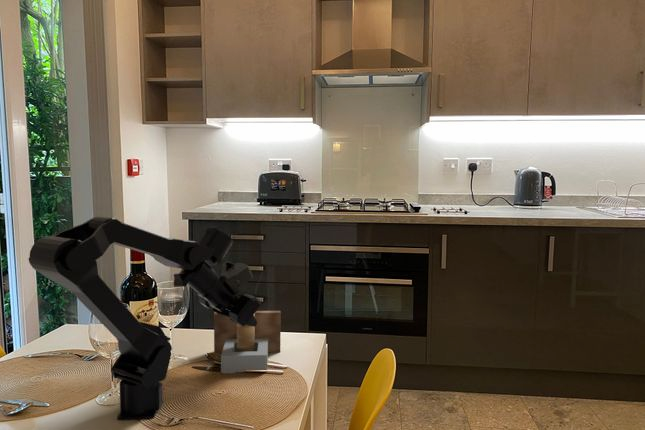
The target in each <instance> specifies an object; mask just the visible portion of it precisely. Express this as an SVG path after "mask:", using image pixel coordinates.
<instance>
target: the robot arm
mask: <svg viewBox="0 0 645 430" xmlns="http://www.w3.org/2000/svg"><path fill="white" fill-rule="evenodd" d="M233 243H234V242H233V239H232V238H231V236H229V235H227V234H226V232H223V231H221V230H219V229H218V228H217V227H215V226H208V227H207V229H206V231H205V233H204V234H203V236H202V237H201V239H200V240H199V242H197V241H194V240H188V239H187V240H186V239H179V238H178V239H177V238H171V237H170V238H169V237H165V236H162V235H158V234H157V233H153V232H151V231H148V230H145V229H142V228H139V227H137V226H133V225H131V224H128V223H125V222H122V221H120V220H119V219H117V218H116V217H107V216H94V217H92V218H90V219H88V220H86V221H85V222H83V223H81V224H77V225H75V226H73V227H69V228H67V229H64V230H61V231H58V232H57V233H56V234H54V235H47V236H44V237H40V238H39V239H37V241H35V243H34V244H33V245H32V246H31V249H30V251H29V257H28V261H29V262H28V263H29V265H30V266H31V268H32V269H33V270H35V271H36V272H38V273H39V274H41V275H42V276H43V277H45V278H46V279H48V280H50V281H51V282H54V283H56V284H58V285H60V286H61V287H64V288H65V289H67V290H68V291H70V292H71V293H72V294H73V295H74V296H75V298H77V300H79V301H80V302H81V303H82V304H83V306H84V307H85V308H86V309H87V310H88V311H89V312H90V313H91V314H92V315H93V316H94V317H96V319H97V320H98V321H99V322H100V324H102V326H104V327H105V328H106V329H107V330H108V331H109V333H111V334H112V336H114V338H116V340H117V345H118V346H117V347H118V351H119V352H120V353H119V356H118V357H117V358H116V360H115V362H114V363H113V365H112V367H111V368H110V371H111V374H112V377H113V378H114V379H118V380H120V381H119V405H120V407H119V409H120V411H119V413H118V414H117V416H116V419H117V420H149V419H154V418H155V417H156V414H157V413H158V411H159V410H160V409H161V407H162V404H163V402H164V401H163V397H164V396H163V383H162V382H161V381H164V380H165V379H166V378H167V374H168V371H169V365H170V361H171V358H172V350H173V347H172V344H171V343H170V341H171V337H168V336H167V335H166V334H165V332H164V330H163V329H162V328H161V326H159V325H156V324H151V323H147V322H143V321H139V320H138V319H137V318H136V316H135V315H134V314H133V313H132V312H131V311H130V310H129V308H127V306H126V305H125V304H124V303H123V302H122V300H121V299H120V298H119V297H118V296H117V295H116V293H114V292H113V290H112V289H111V288H110V286H108V285H107V283H106V282H105V281H104V280H103V279H102V278H101V276H100V274H99V270H98V269H99V268H98V261H97V260H98V259H100V258H101V257H103V256H104V254H105V252H107V250H108V248H109V247H110V246H111V245H116V246H119V247H122V248H126V249H129V250H132V251H136V252H139V253H142V254H146V255H149V257H152V258H153V259H154V260H155V261H156V262H159V263H160V264H161V265H163V266H165V267H168V268H169V267H170V268H176V269H181V270H180V271H179V273H174V274H173V287H175V288H184V287H186V286H187V285H188V286H189V287H190V288H191V289H193V290H194V291H195V292H196V293H195V294H196V295H197V296H198V303H200V304H201V305H202V306H203V307H204V308H206V309H210V308H211V307H212V312H213V313H214V312H216V313H218V314H221V315H224V316H227V317H230V318H231V319H230V320H231V321H233V322H235V323H237V324H239V325H241V326H245V325H249V326H253V327H255V326H256V325H257V321H256V319H255V317H254V313H255V312H256V311H258V310H259V309H260V306H261V305H262V301H260V300H259V299H258V298H257V297H256V296H254V295H251V294H249V293H244V294H241V295H239V296H237V295H238V293H240V291H241V289H240V288H239V287H242V286H243V285H244V284H246V283H247V282H249V281H250V282H251V280H253V278H254V276H253V273H252V271H251V269H250V267H249V265H248V264H246V263H242V262H235V263H232V262H230V261H225V262H223V260H224V258H225V257H226V255H227V254H228V251H229V250H230V248H231V247H232V245H233ZM222 262H223V263H222ZM221 263H222V266H221V274H219V273H218V272H216V270H215V269H214V268H212V267H214V266H216V265H217V266H218V265H220V264H221Z"/></svg>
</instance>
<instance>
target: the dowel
mask: <svg viewBox="0 0 645 430" xmlns="http://www.w3.org/2000/svg"><path fill="white" fill-rule="evenodd" d="M254 317H255V313H254ZM254 340H255V327H253V326H249V325H245V326H241V325H239V324H237V352H248V351H254Z"/></svg>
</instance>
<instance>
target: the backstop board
mask: <svg viewBox="0 0 645 430" xmlns="http://www.w3.org/2000/svg"><path fill="white" fill-rule="evenodd" d="M281 314H282V312H281V310H257V311H256V312H255V319H256V321H257V325H256V326H255V339H267V338H268V353H281V332H282V331H281V325H282V324H281V323H282V322H281V321H282V320H281V319H282V318H281V317H282V315H281ZM230 319H231V318H230V317H227V316H224V315H221V314H218V313H216V312H214V311H213V353H214V354H222V351H223V348H224V345H225V341H226V339H237V323H235V322H233V321H231V320H230Z"/></svg>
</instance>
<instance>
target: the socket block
mask: <svg viewBox="0 0 645 430" xmlns="http://www.w3.org/2000/svg"><path fill="white" fill-rule="evenodd" d="M220 354H221V356H220V374H221V373H223V374H231V373H230V372H242V371H246V370H267V371H268V363H267V361H268V358H269V352H268V338H267V339H255V340H254V351H248V352H237V339H226V341H225V345H224V348H223V351H222V353H220Z"/></svg>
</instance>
